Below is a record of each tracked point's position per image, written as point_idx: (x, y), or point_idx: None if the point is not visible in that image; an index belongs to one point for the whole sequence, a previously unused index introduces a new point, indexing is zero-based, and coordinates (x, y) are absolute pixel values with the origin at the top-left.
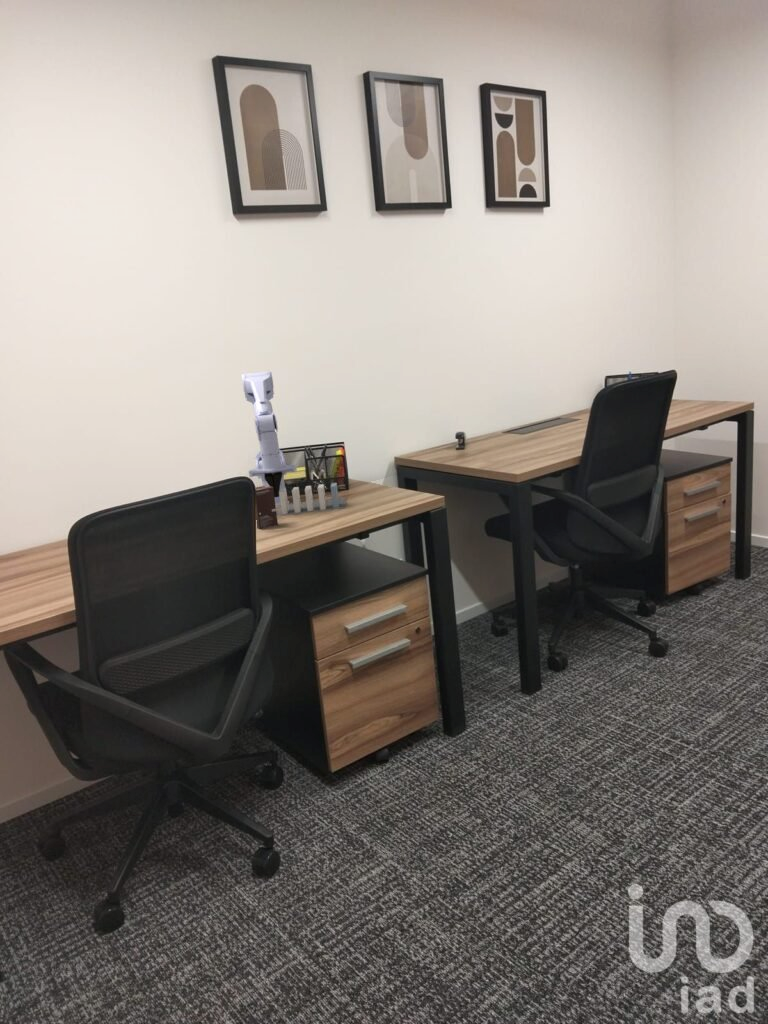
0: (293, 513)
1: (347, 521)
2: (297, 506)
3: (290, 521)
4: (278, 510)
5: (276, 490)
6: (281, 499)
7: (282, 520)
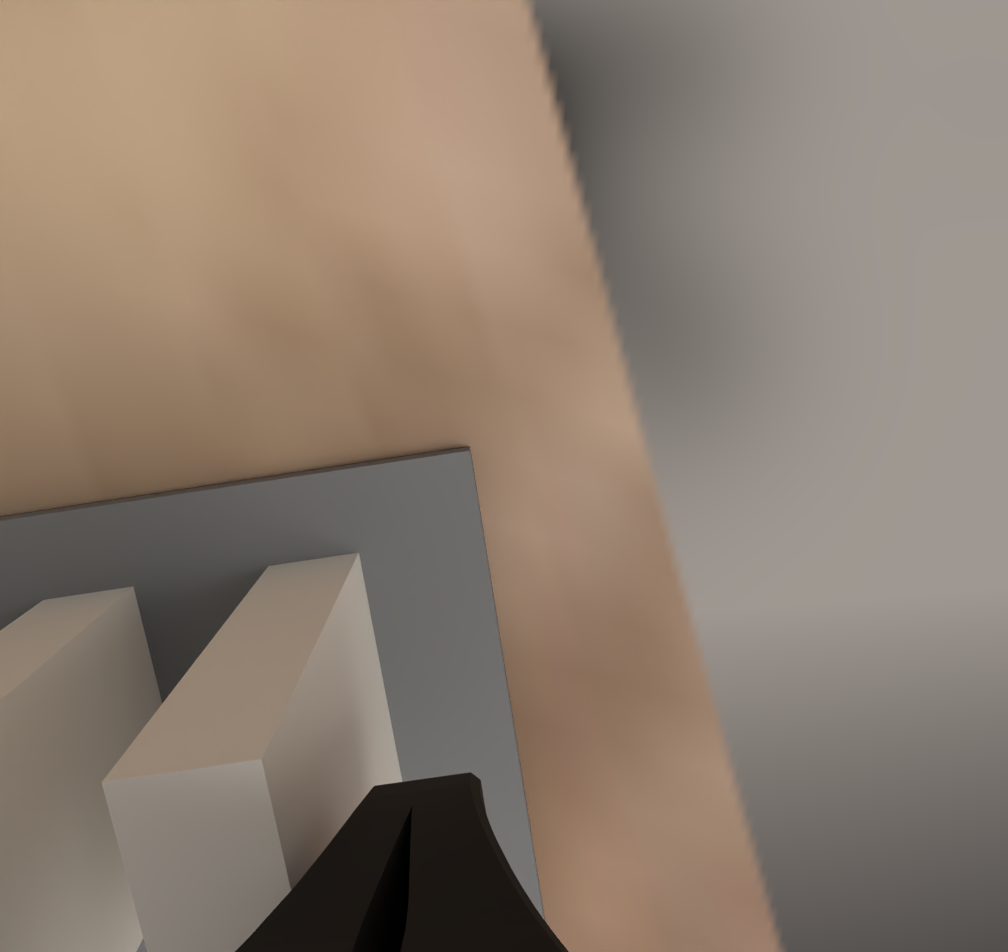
0: (144, 540)
1: None
2: (20, 636)
3: (46, 47)
4: (512, 828)
5: (356, 866)
6: (272, 668)
7: (244, 178)
